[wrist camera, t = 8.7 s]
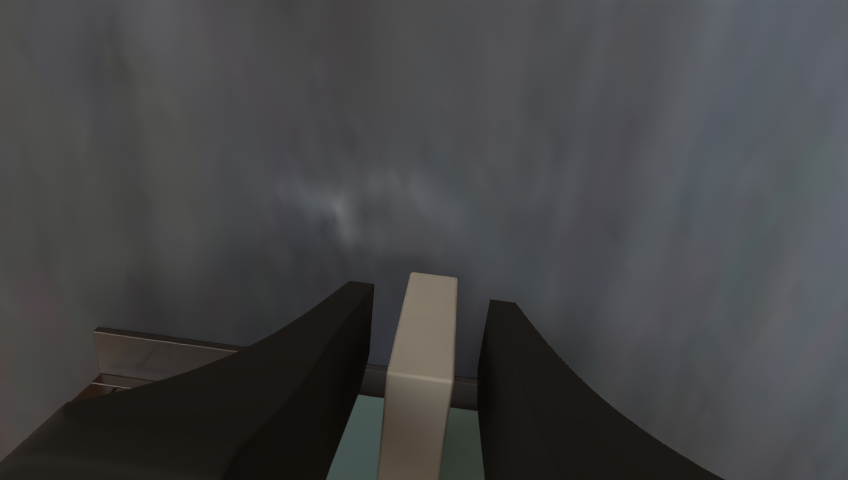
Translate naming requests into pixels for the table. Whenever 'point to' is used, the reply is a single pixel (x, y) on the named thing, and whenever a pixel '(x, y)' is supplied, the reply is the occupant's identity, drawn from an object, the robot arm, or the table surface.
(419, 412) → the teal stand
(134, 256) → the table surface
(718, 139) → the table surface
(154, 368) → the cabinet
